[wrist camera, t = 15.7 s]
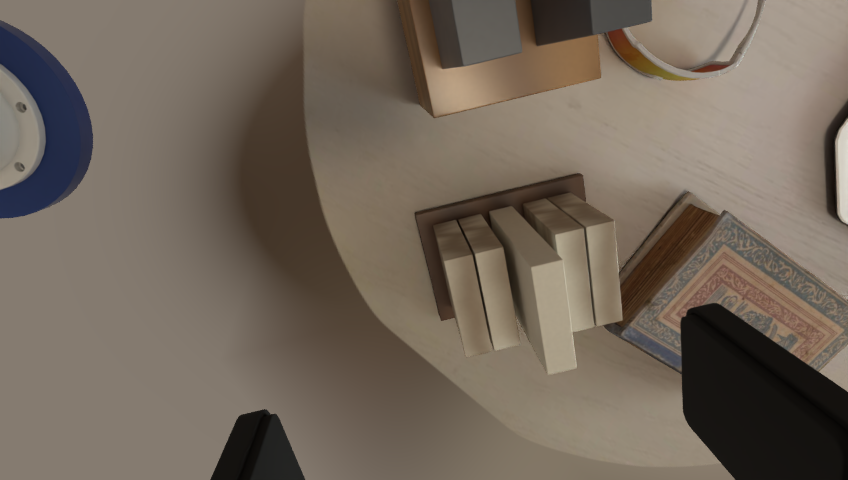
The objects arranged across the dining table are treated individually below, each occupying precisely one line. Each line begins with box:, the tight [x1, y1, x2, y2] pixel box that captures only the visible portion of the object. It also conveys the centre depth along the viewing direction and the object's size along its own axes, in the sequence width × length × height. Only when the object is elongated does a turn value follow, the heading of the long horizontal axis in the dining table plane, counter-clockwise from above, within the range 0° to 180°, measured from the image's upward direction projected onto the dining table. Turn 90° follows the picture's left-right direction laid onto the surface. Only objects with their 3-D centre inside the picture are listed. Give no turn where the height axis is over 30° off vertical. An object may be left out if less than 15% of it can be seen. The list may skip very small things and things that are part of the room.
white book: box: [489, 206, 577, 375], centre depth 43 cm, size 2×10×15 cm, turn 12°
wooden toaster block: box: [397, 0, 601, 118], centre depth 36 cm, size 12×14×14 cm
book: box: [603, 191, 848, 374], centre depth 52 cm, size 17×7×25 cm
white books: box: [415, 173, 623, 358], centre depth 46 cm, size 18×13×11 cm
